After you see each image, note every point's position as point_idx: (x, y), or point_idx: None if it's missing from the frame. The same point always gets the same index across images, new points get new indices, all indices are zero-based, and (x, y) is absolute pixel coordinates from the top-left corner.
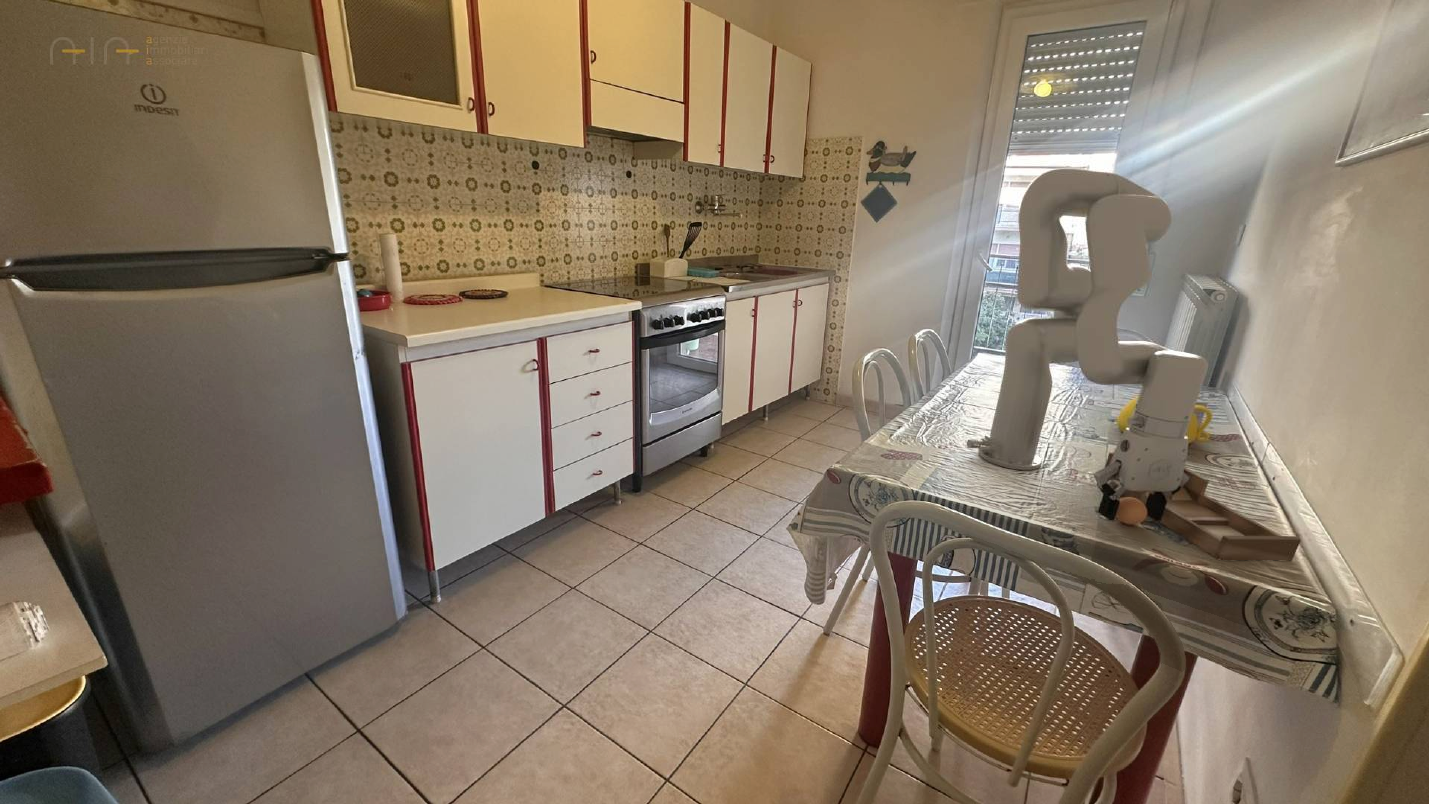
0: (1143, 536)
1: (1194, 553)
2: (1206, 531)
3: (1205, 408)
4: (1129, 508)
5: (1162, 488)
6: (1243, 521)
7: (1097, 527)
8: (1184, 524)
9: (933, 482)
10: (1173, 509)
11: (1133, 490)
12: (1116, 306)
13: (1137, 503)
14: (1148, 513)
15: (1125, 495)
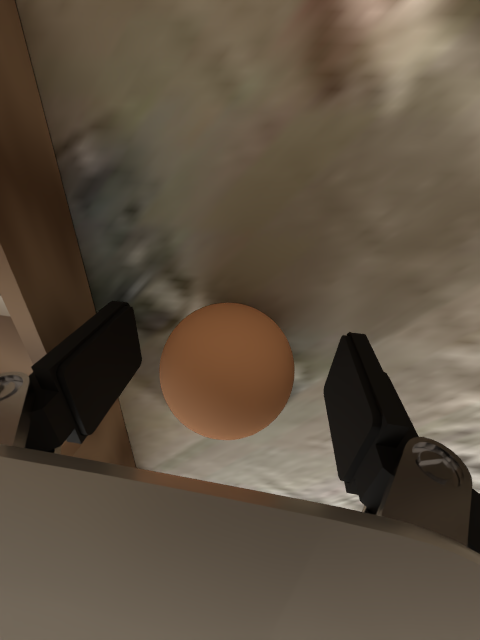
0: (258, 230)
1: (105, 18)
2: None
3: None
4: (276, 369)
5: (12, 503)
6: None
7: (409, 320)
8: (24, 233)
9: None
10: (7, 360)
11: (427, 538)
12: None
13: (225, 389)
14: (134, 347)
15: (118, 440)
